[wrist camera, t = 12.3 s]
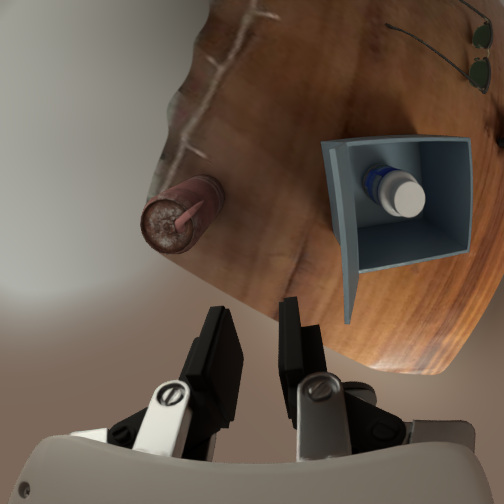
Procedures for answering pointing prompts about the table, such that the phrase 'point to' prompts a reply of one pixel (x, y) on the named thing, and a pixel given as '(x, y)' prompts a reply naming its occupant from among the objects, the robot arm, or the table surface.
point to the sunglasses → (480, 68)
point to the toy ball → (500, 142)
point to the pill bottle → (394, 190)
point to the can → (181, 214)
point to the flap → (346, 224)
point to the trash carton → (436, 198)
